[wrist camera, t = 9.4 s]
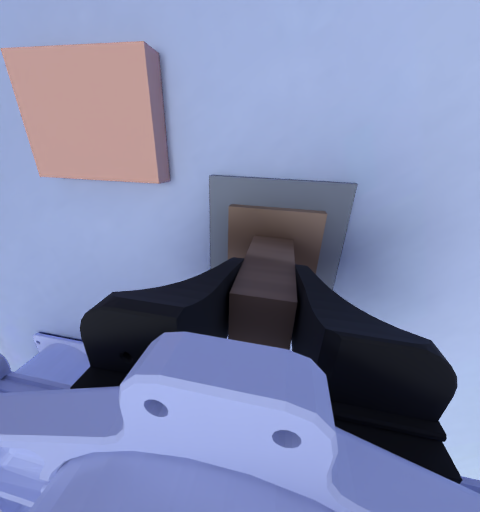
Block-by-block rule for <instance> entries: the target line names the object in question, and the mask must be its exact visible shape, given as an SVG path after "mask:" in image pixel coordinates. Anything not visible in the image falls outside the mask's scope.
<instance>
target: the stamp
mask: <svg viewBox="0 0 480 512" xmlns="http://www.w3.org/2000/svg"><path fill="white" fill-rule="evenodd" d="M326 219H327V213H326V211H316V210H303V209H290V208H277V207H264V206H251V205H238V204H231V205H230V206H229V209H228V259H230V258H233V257H236V258H244V261H243V263H242V265H241V267H240V270H239V272H238V274H237V276H236V279H235V281H234V283H233V286H232V288H231V290H230V293H229V332H228V339H231V340H236V341H242V342H248V343H254V344H259V345H265V346H271V347H277V348H282V349H287V350H290V344H291V338H292V332H293V326H294V320H295V314H296V308H297V289H296V274H295V264H297V265H306V266H308V267H309V268H310V269H311V270H312V271H313V272H314V273H315V274H316V270H317V265H318V260H319V255H320V249H321V244H322V239H323V234H324V229H325V224H326Z"/></svg>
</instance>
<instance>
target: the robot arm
mask: <svg viewBox="0 0 480 512" xmlns="http://www.w3.org/2000/svg"><path fill="white" fill-rule="evenodd" d="M243 261H244V258H236V257H233V258H230V259H228V260H227V261H225V262H223V263H222V264H220V265H218V266H216V267H214V268H213V269H210V270H208V271H206V272H204V273H202V274H200V275H198V276H195V277H193V278H190V279H187V280H184V281H181V282H177V283H174V284H170V285H166V286H161V287H156V288H150V289H143V290H133V291H121V292H112V293H111V294H110V295H108V296H107V297H106V298H104V299H103V300H102V301H101V302H99V303H98V304H97V305H95V306H94V307H93V308H92V309H90V310H89V311H88V312H87V313H85V315H84V316H83V318H82V319H81V324H80V332H81V338H82V341H83V342H82V341H76V340H71V339H66V338H61V337H56V336H51V335H46V334H40V333H36V334H35V335H33V339H34V341H35V344H36V346H37V348H38V351H39V353H38V354H37V355H36V356H35V357H33V358H32V359H31V360H29V361H28V362H27V363H26V364H24V365H23V366H22V367H21V368H19V369H18V370H17V371H16V372H12V371H11V368H10V366H9V363H8V361H7V360H6V358H5V357H4V356H3V355H1V354H0V512H480V480H475V479H471V478H467V477H462V476H460V474H459V472H458V470H457V469H456V467H455V465H454V463H453V461H452V459H451V457H450V456H449V454H448V452H447V450H446V448H445V446H444V444H443V443H442V441H443V442H445V440H446V439H447V438H446V433H445V432H444V430H443V428H442V426H441V425H440V423H439V421H438V420H439V419H440V417H441V415H442V414H443V412H444V411H445V409H446V408H447V406H448V404H449V403H450V401H451V400H452V398H453V396H454V394H455V391H456V389H457V376H456V374H455V372H454V370H453V368H452V366H451V365H450V364H449V362H448V361H447V360H446V359H445V357H444V356H443V355H442V353H441V352H440V351H439V350H438V348H437V347H436V346H435V344H434V343H433V342H432V341H431V340H429V339H426V338H423V337H420V336H418V335H415V334H412V333H410V332H407V331H404V330H402V329H399V328H397V327H394V326H392V325H390V324H388V323H385V322H383V321H381V320H379V319H377V318H375V317H373V316H371V315H369V314H367V313H365V312H364V311H362V310H360V309H358V308H357V307H355V306H353V305H352V304H350V303H349V302H347V301H346V300H344V299H343V298H342V297H340V296H339V295H338V294H336V293H335V292H334V291H333V290H332V289H330V288H329V287H328V286H327V285H326V284H325V283H324V282H323V281H322V280H321V279H320V278H319V277H318V276H317V275H316V274H315V273H314V272H313V271H312V270H311V269H310V268H309V267H308V266H306V265H297V264H295V274H296V289H297V308H296V314H295V320H294V326H293V332H292V338H291V341H292V351H293V352H292V351H290V350H287V349H282V348H277V347H271V346H265V345H259V344H254V343H248V342H242V341H236V340H231V339H227V336H228V332H229V293H230V290H231V288H232V286H233V283H234V281H235V279H236V276H237V274H238V272H239V270H240V267H241V265H242V263H243Z"/></svg>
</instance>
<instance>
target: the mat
mask: <svg viewBox="0 0 480 512" xmlns="http://www.w3.org/2000/svg"><path fill="white" fill-rule="evenodd" d="M356 188H357V184H356V183H343V182H325V181H307V180H290V179H272V178H254V177H237V176H219V175H210V176H209V205H210V266H211V269H213V268H214V267H216V266H218V265H220V264H222V263H223V262H225V261H227V260H228V209H229V206H230V205H231V204H238V205H251V206H264V207H277V208H290V209H303V210H316V211H326V213H327V219H326V224H325V229H324V234H323V239H322V244H321V249H320V255H319V260H318V265H317V270H316V275H317V276H318V277H319V278H320V279H321V280H322V281H323V282H324V283H325V284H326V285H327V286H328V287H329V288H330V289H332V290H333V286H334V282H335V277H336V273H337V269H338V265H339V260H340V256H341V252H342V248H343V243H344V239H345V235H346V231H347V226H348V222H349V218H350V214H351V209H352V205H353V201H354V197H355V193H356Z"/></svg>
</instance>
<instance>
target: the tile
mask: <svg viewBox="0 0 480 512" xmlns="http://www.w3.org/2000/svg"><path fill="white" fill-rule="evenodd" d="M1 51H2V55H3V58H4V61H5V64H6V68H7V71H8V74H9V77H10V81H11V84H12V87H13V90H14V94H15V97H16V100H17V103H18V107H19V110H20V113H21V116H22V120H23V123H24V126H25V130H26V133H27V136H28V139H29V143H30V146H31V149H32V152H33V156H34V159H35V162H36V165H37V169H38V172H39V175H40V177H55V178H73V179H90V180H107V181H124V182H141V183H158V184H159V183H164V182H169V181H170V174H169V162H168V151H167V139H166V128H165V116H164V105H163V94H162V82H161V71H160V59H159V53H158V52H157V51H155V50H154V49H153V48H152V47H150V46H149V45H148V44H147V43H145V42H144V41H137V42H116V43H96V44H76V45H56V46H35V47H15V48H1Z"/></svg>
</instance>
